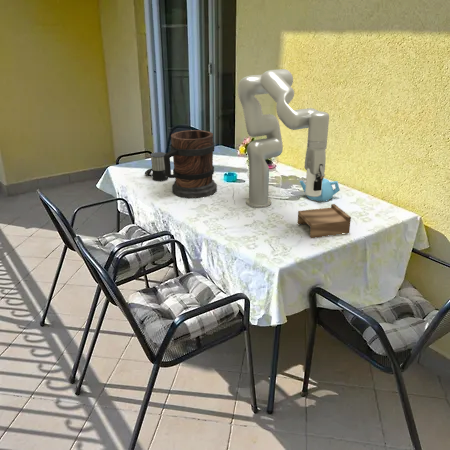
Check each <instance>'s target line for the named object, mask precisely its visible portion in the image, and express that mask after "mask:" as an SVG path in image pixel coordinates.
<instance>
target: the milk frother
mask: <svg viewBox="0 0 450 450" xmlns="http://www.w3.org/2000/svg"><path fill="white" fill-rule="evenodd" d="M166 153H167V152H165V151H164V152H163V151H162V152H161V151H158V152H157V151H156V152H152V153H150V161H151V168H149V169H146V170H145V171H144V175H145V176H146V177H152V181H154V182H165V181H167V180H169V178H168V177H166V173H165V163H164V155H165V154H166Z"/></svg>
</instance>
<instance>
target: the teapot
mask: <svg viewBox="0 0 450 450" xmlns="http://www.w3.org/2000/svg"><path fill="white" fill-rule="evenodd" d="M299 183H300V186H301V187H302V190H303V192H304V193H305V190H306V183H305V182H304V180H299ZM333 186H334V187H335V188H333ZM340 191H341V190H340V186H339V182H338V180H335V181H334V180H333V181H330V180H328V179H327V178H325V177H324V178H323V181H322V191H321V195H320V196H318V197H310V196H307V195H306V194H305V196H306V197H307V198H308V200H310V201H313V200H316V201H315V202H327V201H326V200H328V201H330V200H331V199H333V197H334V195H336V194H338V193H339V192H340ZM329 199H330V200H329Z"/></svg>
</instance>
